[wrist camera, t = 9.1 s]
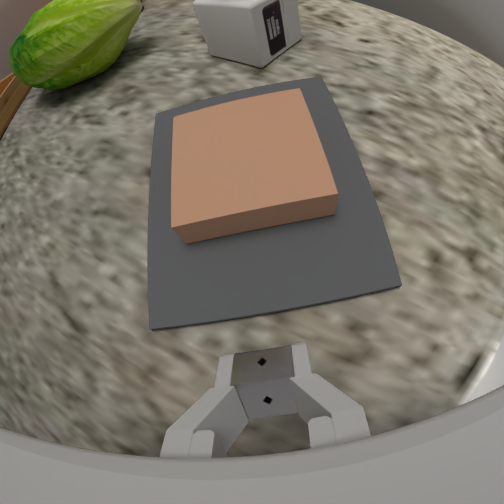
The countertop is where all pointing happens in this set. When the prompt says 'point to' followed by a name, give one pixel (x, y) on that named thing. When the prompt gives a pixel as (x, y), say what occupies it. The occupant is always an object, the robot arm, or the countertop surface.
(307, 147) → the block
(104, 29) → the lettuce
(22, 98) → the tray
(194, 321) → the mat
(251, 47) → the container
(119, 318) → the countertop surface
